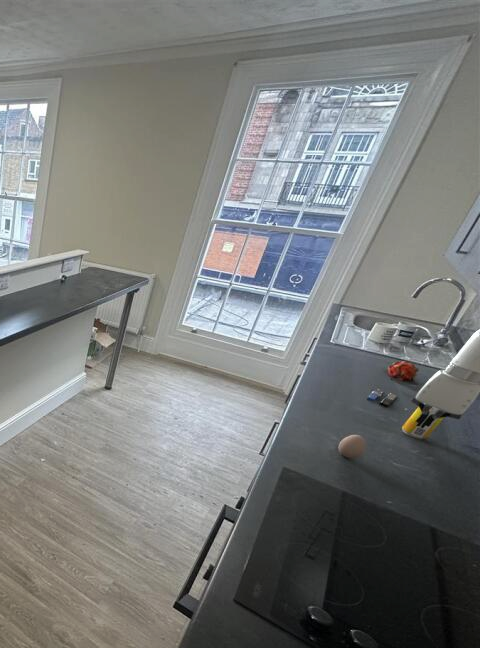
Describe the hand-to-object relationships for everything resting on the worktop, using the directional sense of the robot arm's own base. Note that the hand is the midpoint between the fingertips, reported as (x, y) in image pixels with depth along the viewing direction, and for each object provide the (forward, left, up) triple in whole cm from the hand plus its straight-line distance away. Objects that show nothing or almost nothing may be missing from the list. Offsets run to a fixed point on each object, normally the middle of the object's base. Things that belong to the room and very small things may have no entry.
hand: (420, 425), depth 120 cm
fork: (+29, -22, -7) cm, 37 cm away
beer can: (+5, -9, -7) cm, 12 cm away
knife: (+25, -24, -7) cm, 35 cm away
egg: (-6, +28, -7) cm, 30 cm away
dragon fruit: (+42, -47, -7) cm, 63 cm away
